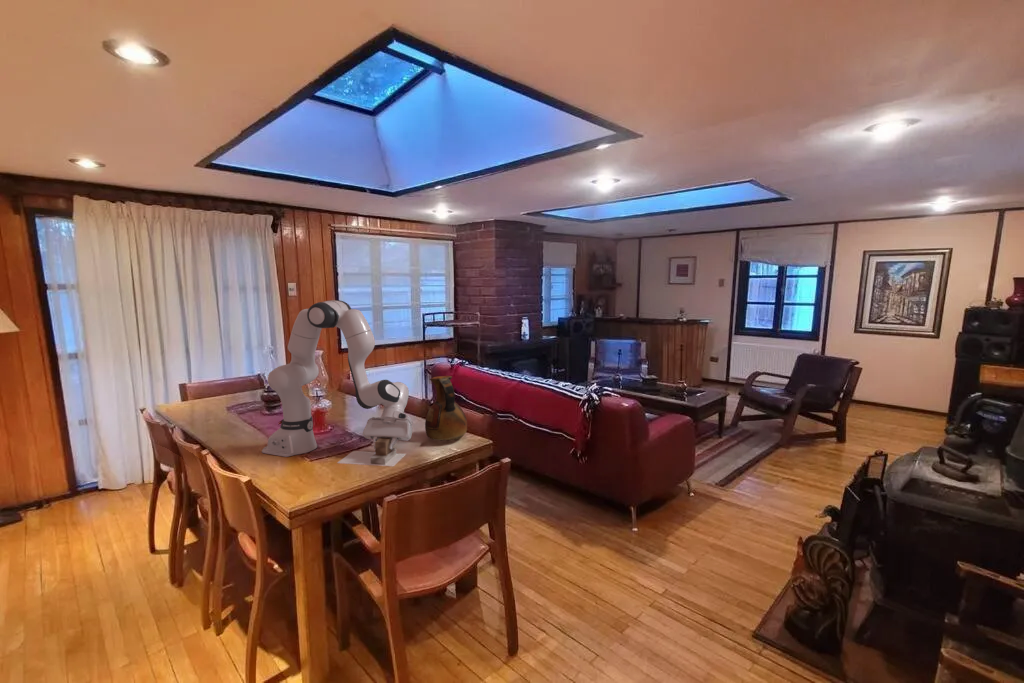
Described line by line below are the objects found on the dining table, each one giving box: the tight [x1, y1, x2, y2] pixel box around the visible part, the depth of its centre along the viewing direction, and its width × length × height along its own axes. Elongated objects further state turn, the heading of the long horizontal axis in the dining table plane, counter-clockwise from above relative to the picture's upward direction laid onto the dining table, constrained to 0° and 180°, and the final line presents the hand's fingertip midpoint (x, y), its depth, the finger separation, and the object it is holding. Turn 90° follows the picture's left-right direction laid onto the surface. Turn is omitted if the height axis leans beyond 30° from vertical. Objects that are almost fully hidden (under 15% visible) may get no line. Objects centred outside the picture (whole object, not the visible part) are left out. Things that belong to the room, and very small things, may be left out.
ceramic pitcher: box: [424, 375, 468, 441], centre depth 207 cm, size 20×20×30 cm
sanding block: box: [370, 438, 397, 465], centre depth 180 cm, size 6×11×8 cm, turn 171°
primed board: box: [337, 450, 407, 467], centre depth 182 cm, size 24×13×2 cm, turn 81°
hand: (382, 448), depth 180 cm, fingers closed on sanding block, 4 cm apart
